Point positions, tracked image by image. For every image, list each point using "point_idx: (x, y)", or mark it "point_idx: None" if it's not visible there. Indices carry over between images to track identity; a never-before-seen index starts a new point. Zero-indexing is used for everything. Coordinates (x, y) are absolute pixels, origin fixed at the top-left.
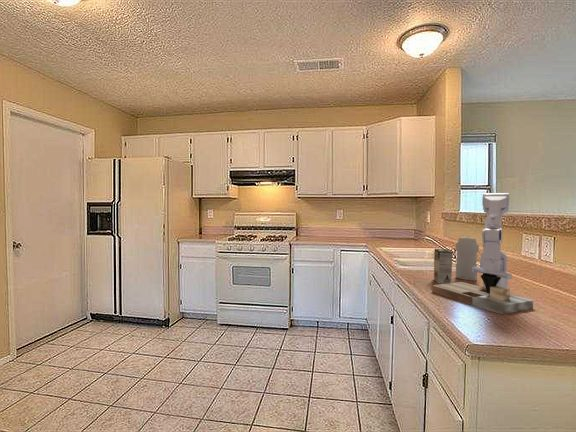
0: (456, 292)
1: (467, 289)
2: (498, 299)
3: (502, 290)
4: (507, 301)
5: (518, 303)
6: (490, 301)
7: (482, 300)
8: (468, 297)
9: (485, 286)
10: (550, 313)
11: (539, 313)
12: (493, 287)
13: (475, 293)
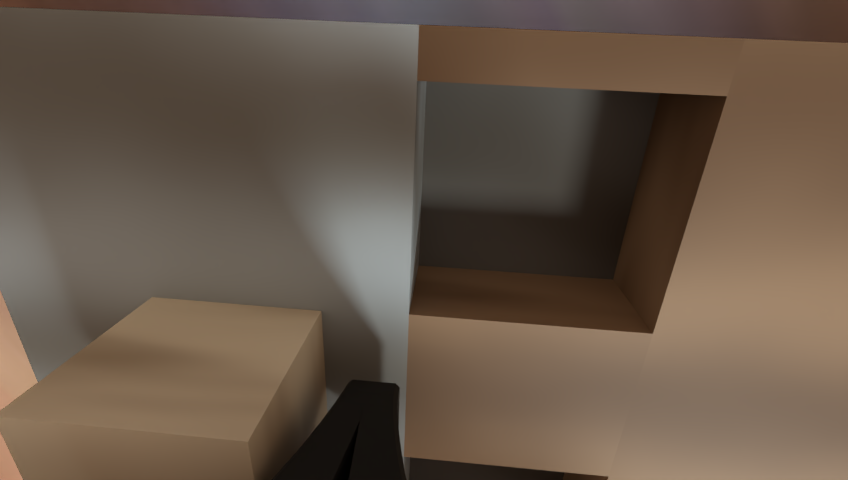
0: (803, 46)
1: (736, 407)
2: (196, 302)
3: (11, 415)
4: (101, 317)
5: (37, 362)
6: (131, 85)
7: (219, 16)
8: (504, 29)
9: (398, 464)
10: None
11: None
12: (189, 449)
13: (550, 321)
